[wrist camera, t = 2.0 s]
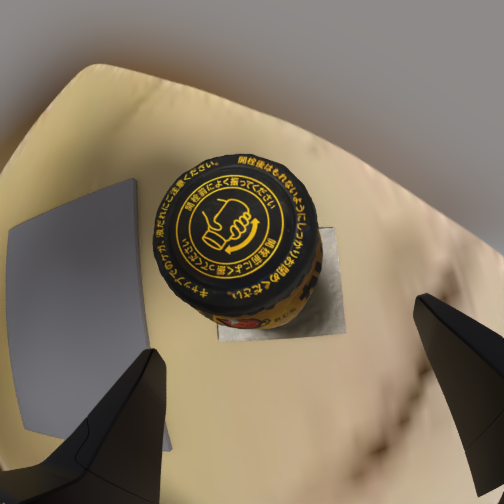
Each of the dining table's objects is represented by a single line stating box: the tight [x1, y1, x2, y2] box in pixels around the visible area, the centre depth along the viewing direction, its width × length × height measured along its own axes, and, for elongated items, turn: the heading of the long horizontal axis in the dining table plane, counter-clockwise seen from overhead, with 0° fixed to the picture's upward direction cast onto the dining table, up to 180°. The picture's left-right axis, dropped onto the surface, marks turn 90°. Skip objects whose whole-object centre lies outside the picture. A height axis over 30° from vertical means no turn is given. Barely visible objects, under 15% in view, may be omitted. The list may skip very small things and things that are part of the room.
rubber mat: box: [6, 178, 172, 451], centre depth 21 cm, size 22×18×1 cm
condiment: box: [152, 154, 346, 342], centre depth 14 cm, size 7×8×12 cm
